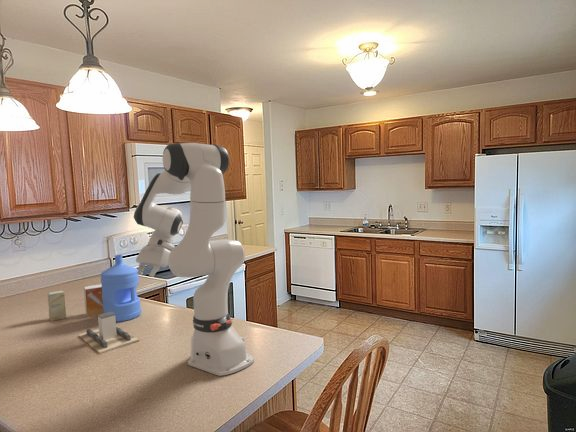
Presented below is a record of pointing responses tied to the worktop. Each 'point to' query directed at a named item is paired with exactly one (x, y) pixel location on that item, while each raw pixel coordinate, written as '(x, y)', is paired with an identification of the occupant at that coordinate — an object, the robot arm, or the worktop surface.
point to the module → (107, 325)
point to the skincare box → (56, 305)
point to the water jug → (120, 291)
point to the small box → (93, 300)
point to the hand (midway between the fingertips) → (145, 275)
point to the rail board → (109, 344)
